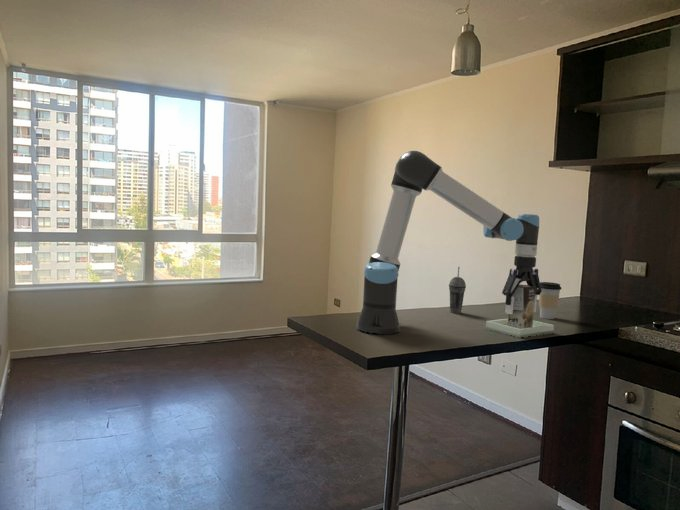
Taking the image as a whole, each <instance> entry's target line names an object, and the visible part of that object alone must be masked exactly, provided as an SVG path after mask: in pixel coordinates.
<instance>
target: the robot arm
mask: <svg viewBox="0 0 680 510" xmlns="http://www.w3.org/2000/svg"><path fill="white" fill-rule="evenodd" d="M390 186H391V188H392V190H393V192H392V195H391V199H390V202H389V206H388V209H387V213H386V216H385V220H384V224H383V227H382V230H381V234H380V237H379V240H378V244H377V249H376V251H375V252H374V253H372V254H371V255H370V257H369V261H368V263H367V264H366V265H365V267H364V268H365V269H364V271H363V277H364V279H363V280H364V282H363V300H362V308H361V310H360V314H359V317H358V320H357V321H356V329H357V330H358V329H359V330H358V331H360V330H361V331H360V332H362V331H364V332H363V333H366V332H369V333H368V334H372V333H377V334H376V335H393V333H394V334H397V332H398V333H399V332H400V326H401V325H400V321H399V317H398V314H397V308H396V307H397V292H398V277H399V270H400V267H401V262H400V261H399V257H400V254H401V253H400V252H401V250H402V246H403V242H404V238H405V235H406V233H407V229H408V225H409V222H410V218H411V214H412V211H413V208H414V204H415V201H416V198H417V197H418V196H420V195H421V194H422V192H423V190H424V191H430V192H433V193H434V194H435V195H437V196H439V197H440V198H441V199H443V200H444V201H446V202H447V203H448V204H450V205H452V206H454V207H455V208H457V209H458V210H460V211H461V212H462V213H463V214H466V215H467V216H468V217H470V218H472V220H473V219H474V220H475V221H476V222H478V223H479V224H480V225H483V227H482V228H483V235H484V236H483V237H485V238H490V239H499V240H505V241H508V242H512V241H515V250H514V254H515V256H514V263H513V265H514V266H515V267H516V268H510V269H509V274H508V277H507V279H506V281H505V284H504V286H503V289H502V292H501V294H502V295H503V296H505V310H504V313H505V314H511V315H512V314H513V304H514V297H513V294H514V293H515V291H516V289H517V288H518V286H519V285H520V284H521V283H523V282H526V285H530V286H536V295H535V306H534V313H536V311H537V302H538V296H539V295H540V293H541V292H542V290H541V285H540V282H541V281H540V276H539V269H538V268H535V267H536V264H537V258H536V256H537V254H538V253H537V251H538V240H539V234H540V233H539V231H540V216H539V215H538V214H529V213H528V214H527V213H519V214H518V216H517V218H515V217H511V216H510V215H509V214H507V213H506V212H504V211H503V210H501V209H500V208H498V207H497V206H495V205H494V204H492V203H490V201H488V200H486V198H483V197H482V196H480V195H478V194H477V193H476V192H474V191H473V190H471V189H470V188H469V187H467V186H466V185H464V184H462V183H461V182H459V181H458V180H456V179H454V178H453V177H452V176H450V175H449V174H447V173H446V172H444V171H443V168H442V166H441V165H439V164H438V163H436V162H435V160H434V161H433V160H432V158H429V157H428V155H426V154H424V152H422V151H417V150H409V151H407V152H404V153H403V154H402V155H401V156H400V157H399V158H398V160H397V162H396V164H395V168H394V173H393V177H392V181H391V184H390Z"/></svg>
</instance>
